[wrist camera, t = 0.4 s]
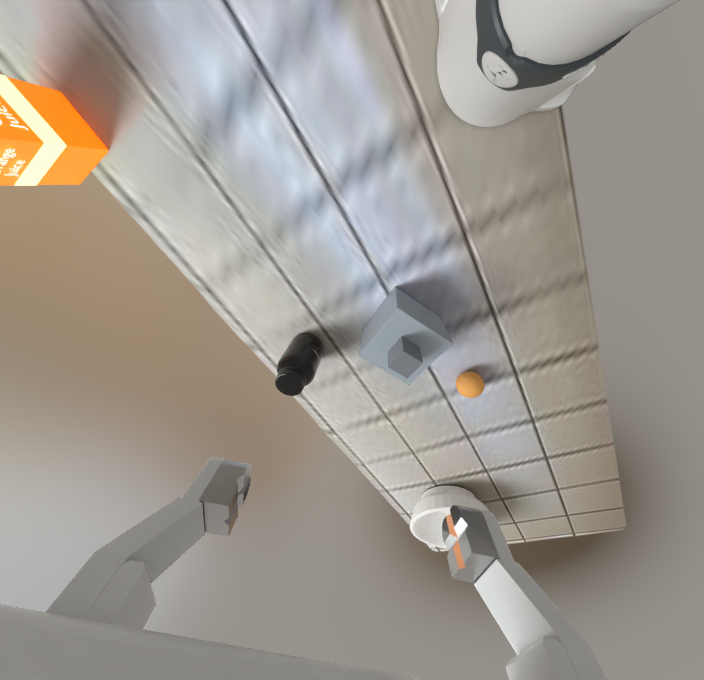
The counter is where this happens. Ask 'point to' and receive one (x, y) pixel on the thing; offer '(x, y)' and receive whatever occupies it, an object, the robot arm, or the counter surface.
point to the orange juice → (43, 137)
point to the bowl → (439, 511)
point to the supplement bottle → (298, 364)
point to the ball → (470, 384)
